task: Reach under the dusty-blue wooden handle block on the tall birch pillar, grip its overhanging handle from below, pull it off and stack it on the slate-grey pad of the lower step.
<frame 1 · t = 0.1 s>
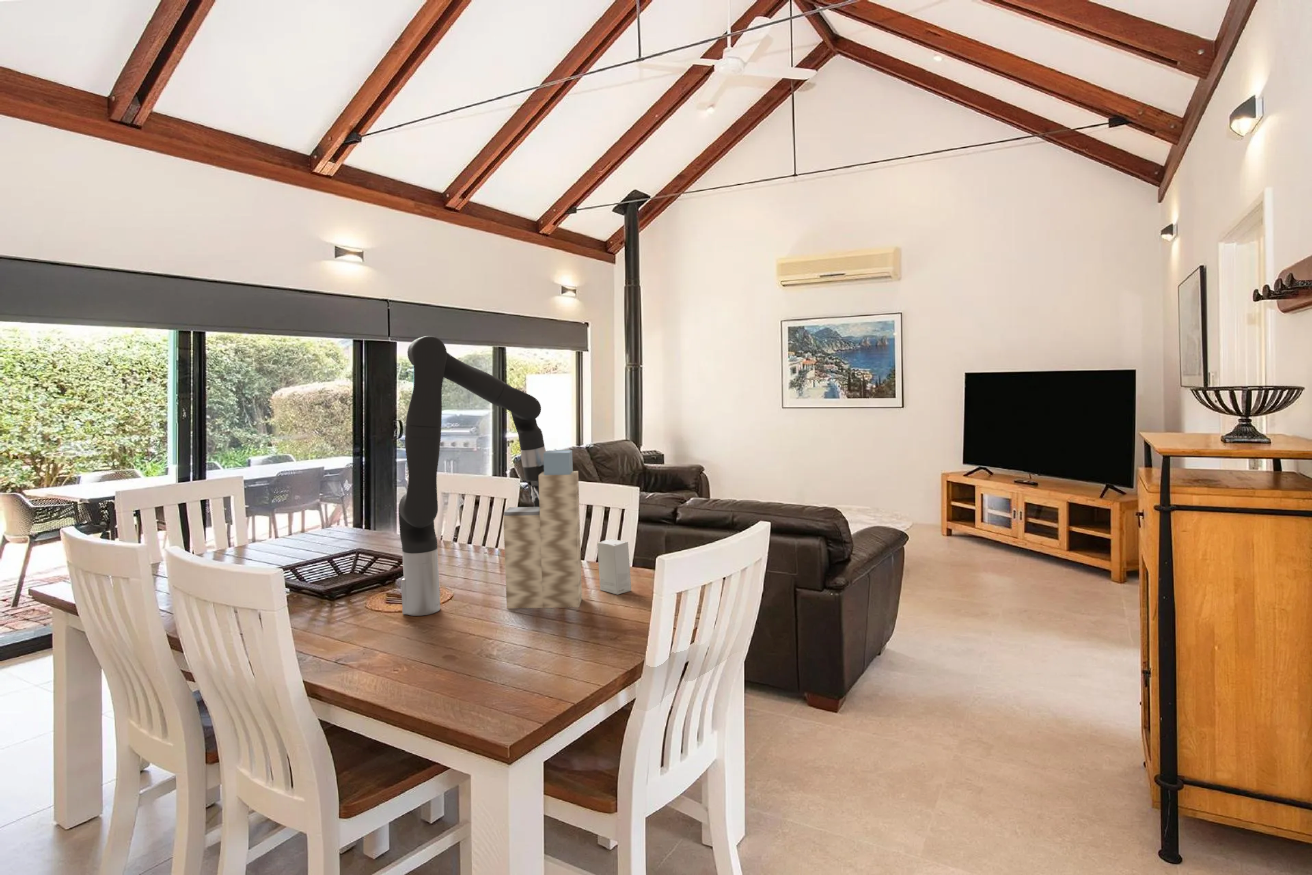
hand: (544, 516, 216), 22 cm above the table, tool pointing down, fingers open, 8 cm apart
skincare box: (614, 591, 216), on the table
blue handle block: (558, 473, 202), point 37 cm above the table, touching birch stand
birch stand: (544, 603, 205), on the table
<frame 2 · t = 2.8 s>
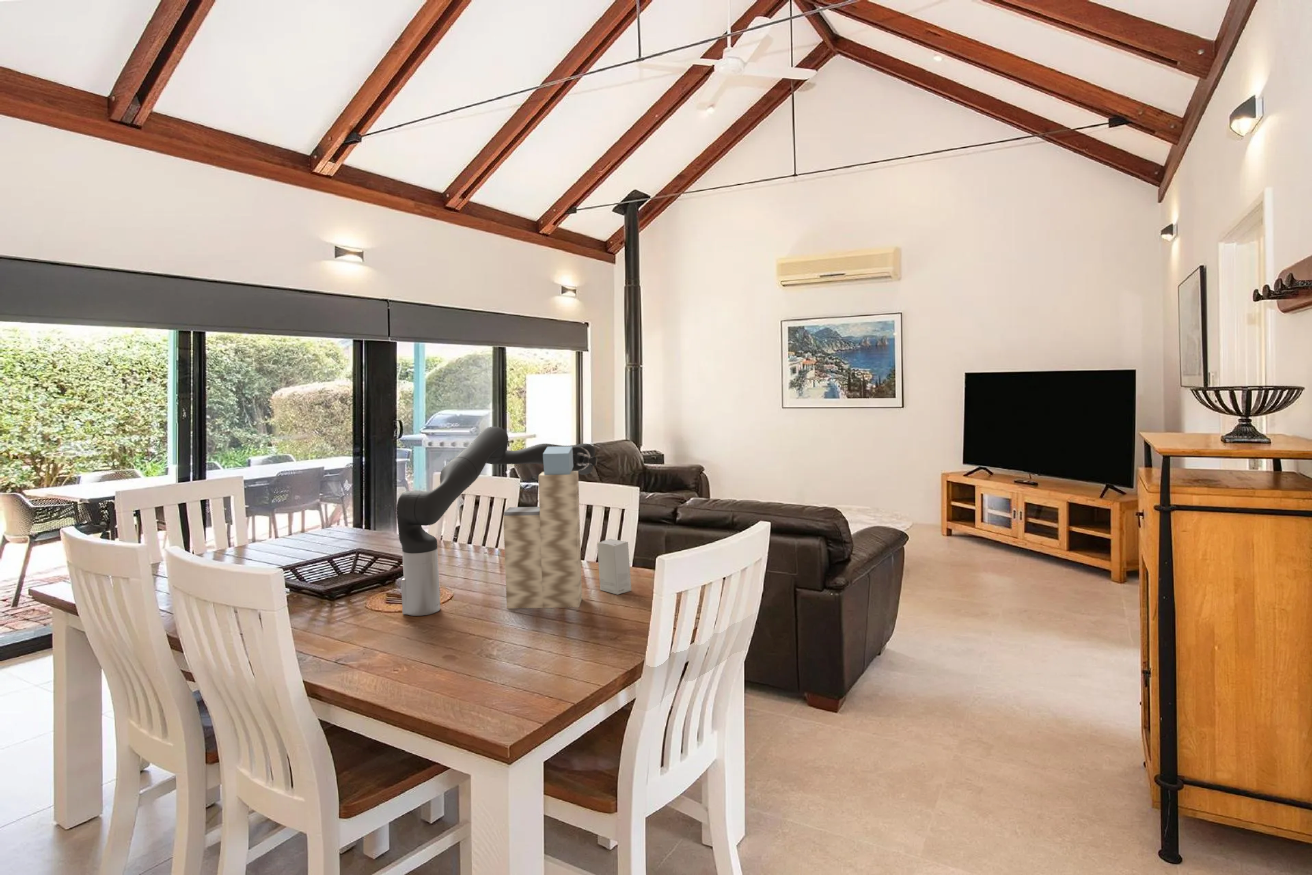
hand: (570, 458, 215), 40 cm above the table, tool horizontal, fingers open, 8 cm apart
blue handle block: (559, 470, 202), point 38 cm above the table, tilted 10°, touching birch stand
everything else where it was.
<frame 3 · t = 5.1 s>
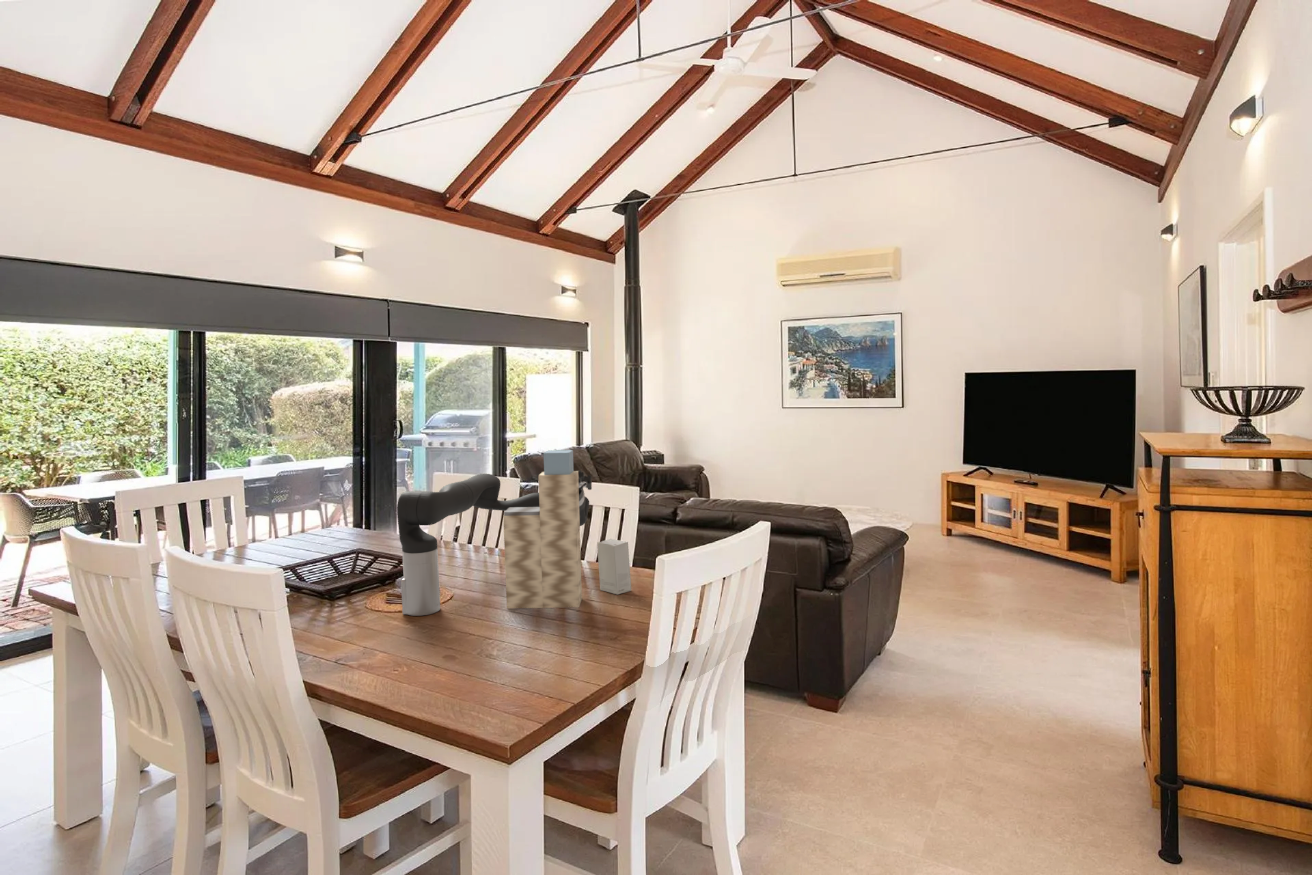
hand: (565, 473, 217), 35 cm above the table, tool pointing upward, fingers open, 8 cm apart
blue handle block: (559, 472, 202), point 37 cm above the table, touching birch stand
everything else where it was.
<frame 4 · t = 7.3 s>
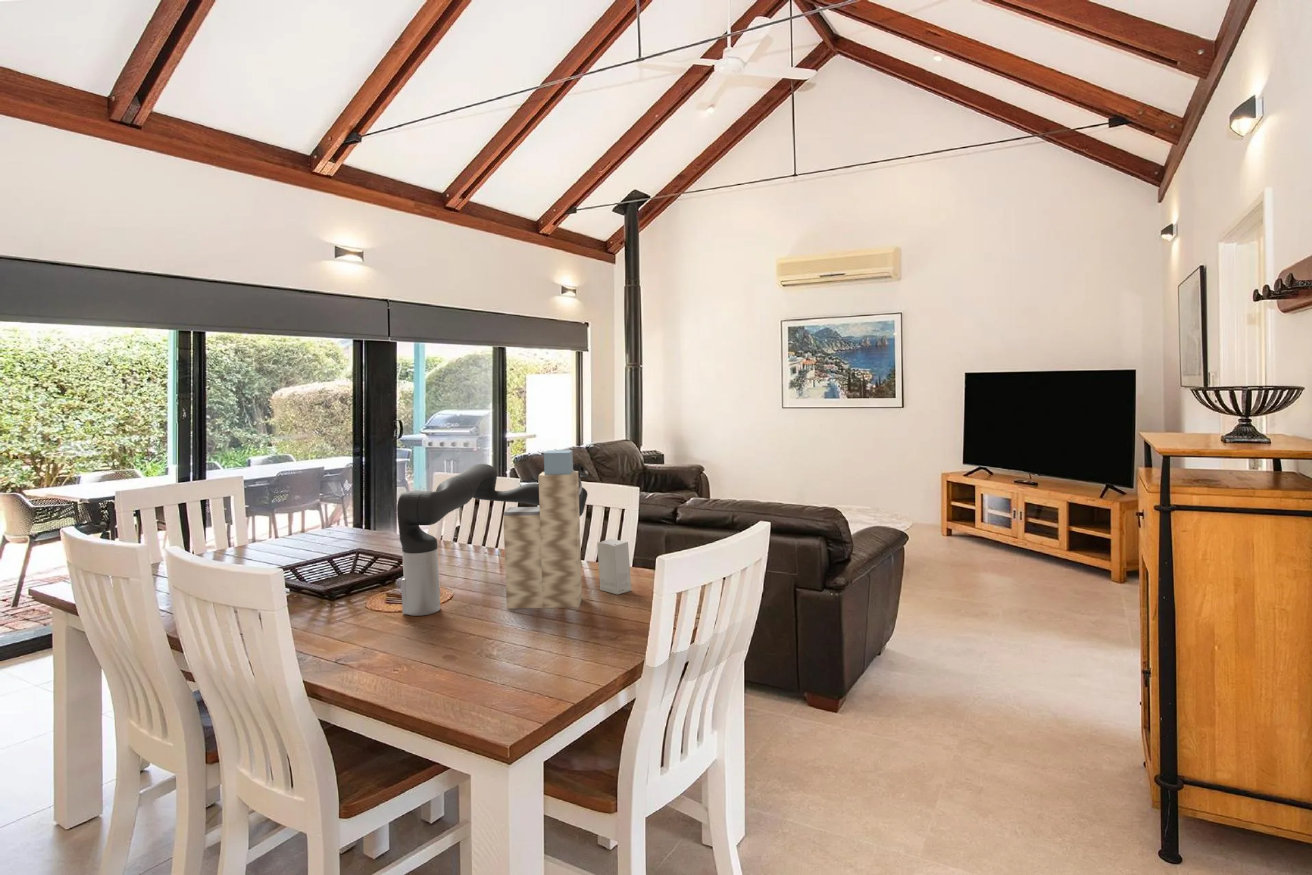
hand: (561, 461, 208), 39 cm above the table, tool pointing upward, fingers closed on blue handle block, 3 cm apart
blue handle block: (559, 472, 202), point 37 cm above the table, touching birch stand, gripper
everything else where it was.
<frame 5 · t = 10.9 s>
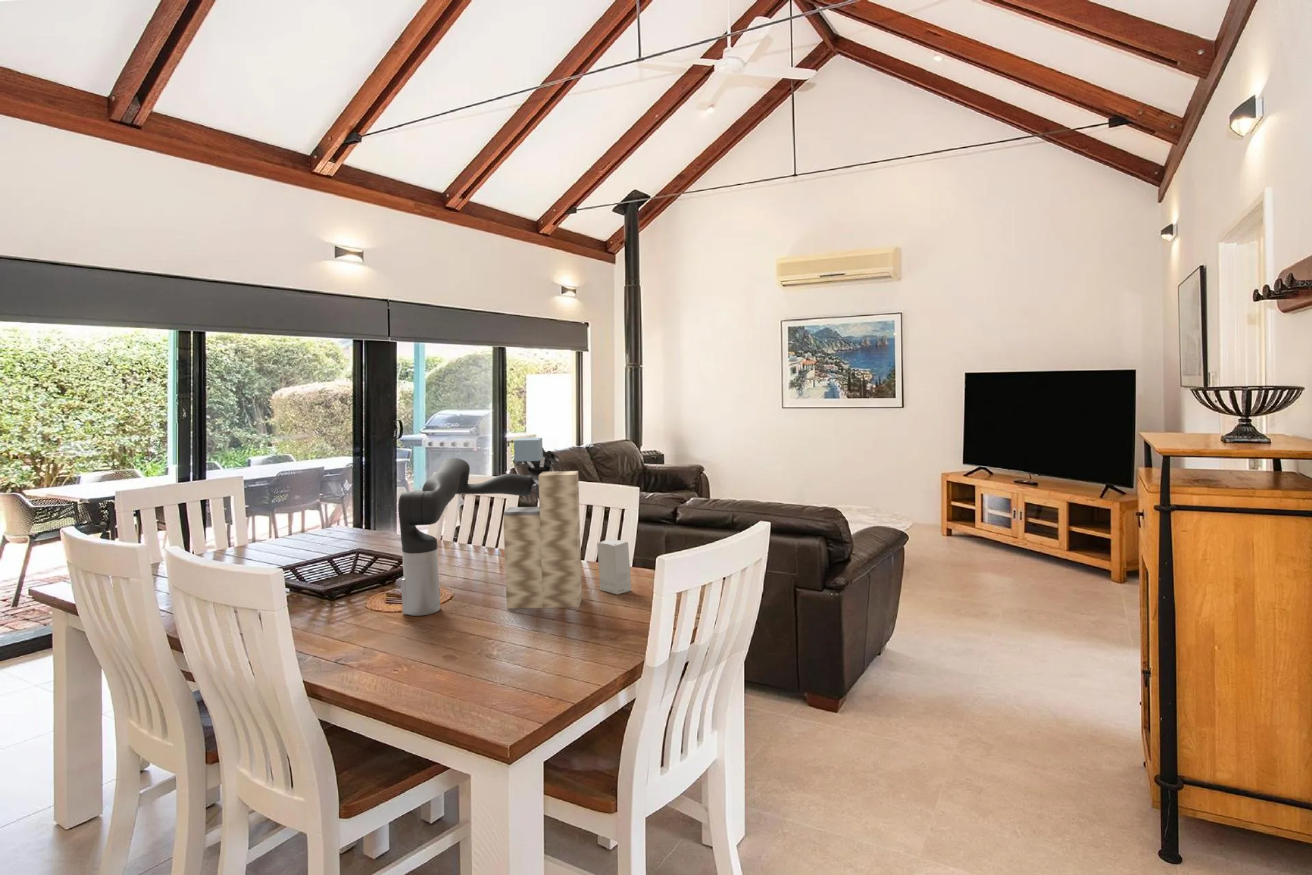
hand: (532, 448, 218), 42 cm above the table, tool pointing upward, fingers closed on blue handle block, 3 cm apart
blue handle block: (528, 459, 212), point 40 cm above the table, touching gripper
everything else where it was.
when the fingers open (31 cm above the table, at t = 14.9 s): blue handle block drops 1 cm, resting on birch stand.
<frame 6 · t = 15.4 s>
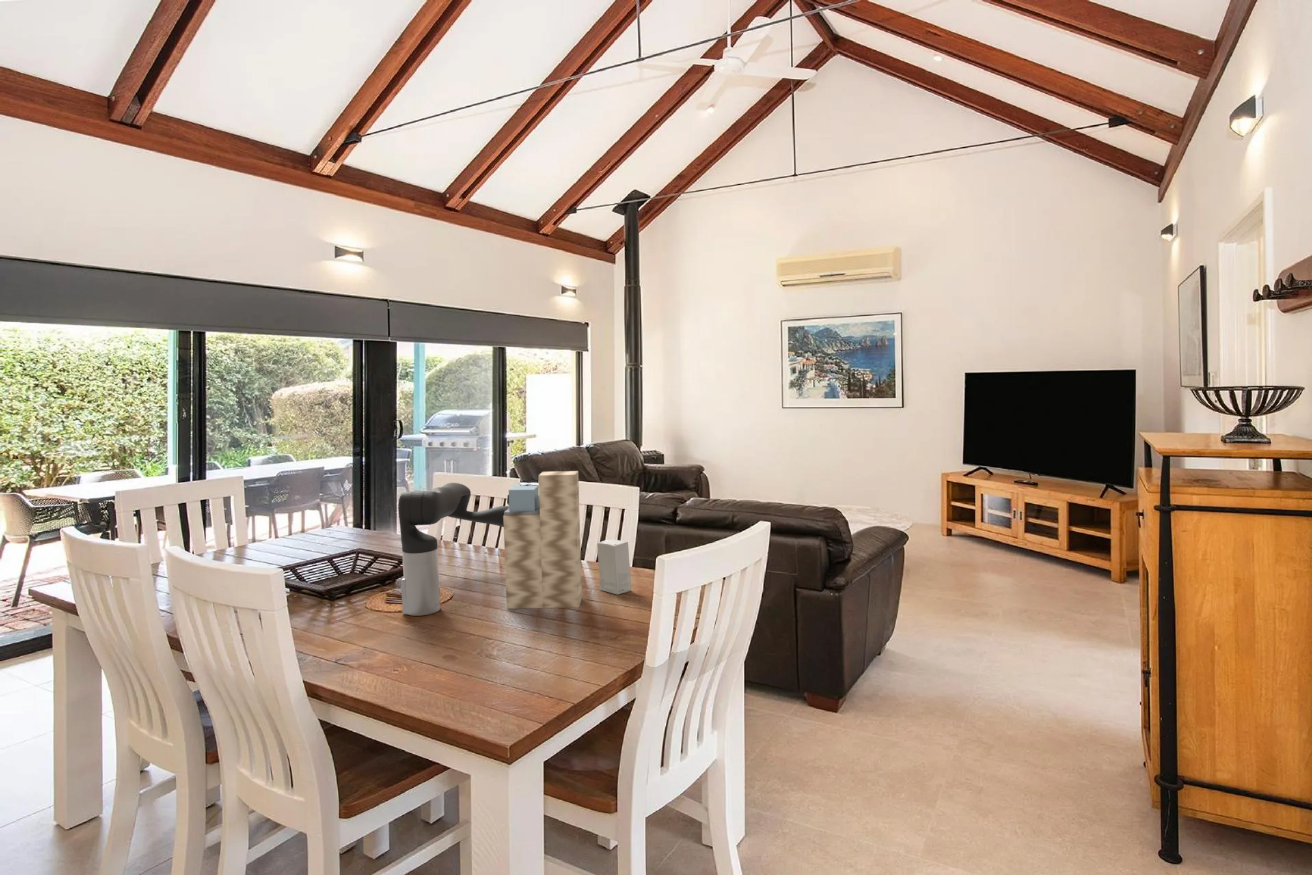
hand: (528, 492, 210), 30 cm above the table, tool pointing upward, fingers open, 8 cm apart
blue handle block: (524, 509, 203), point 27 cm above the table, touching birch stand
everything else where it was.
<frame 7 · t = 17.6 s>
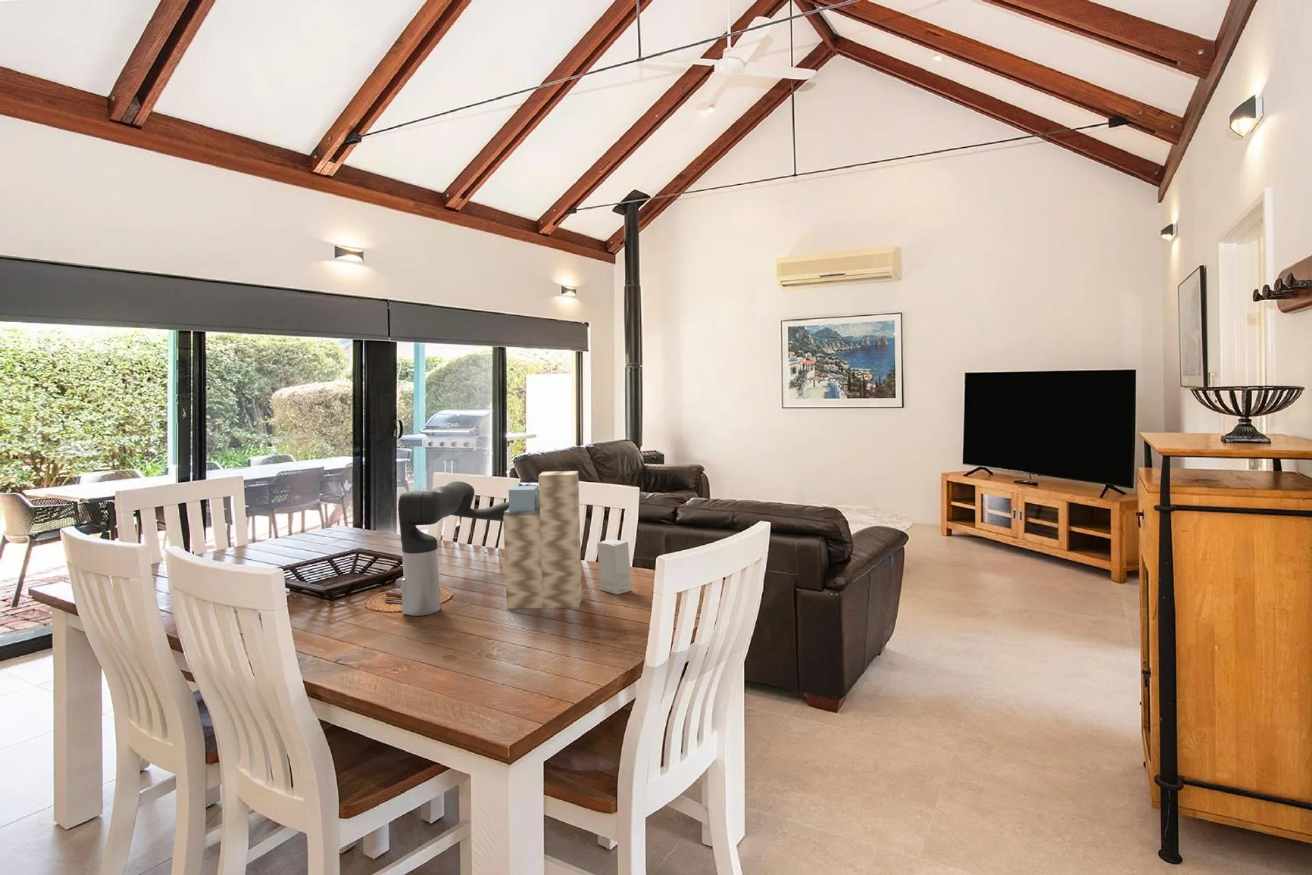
hand: (534, 486, 220), 31 cm above the table, tool pointing upward, fingers open, 8 cm apart
nothing on the table moved.
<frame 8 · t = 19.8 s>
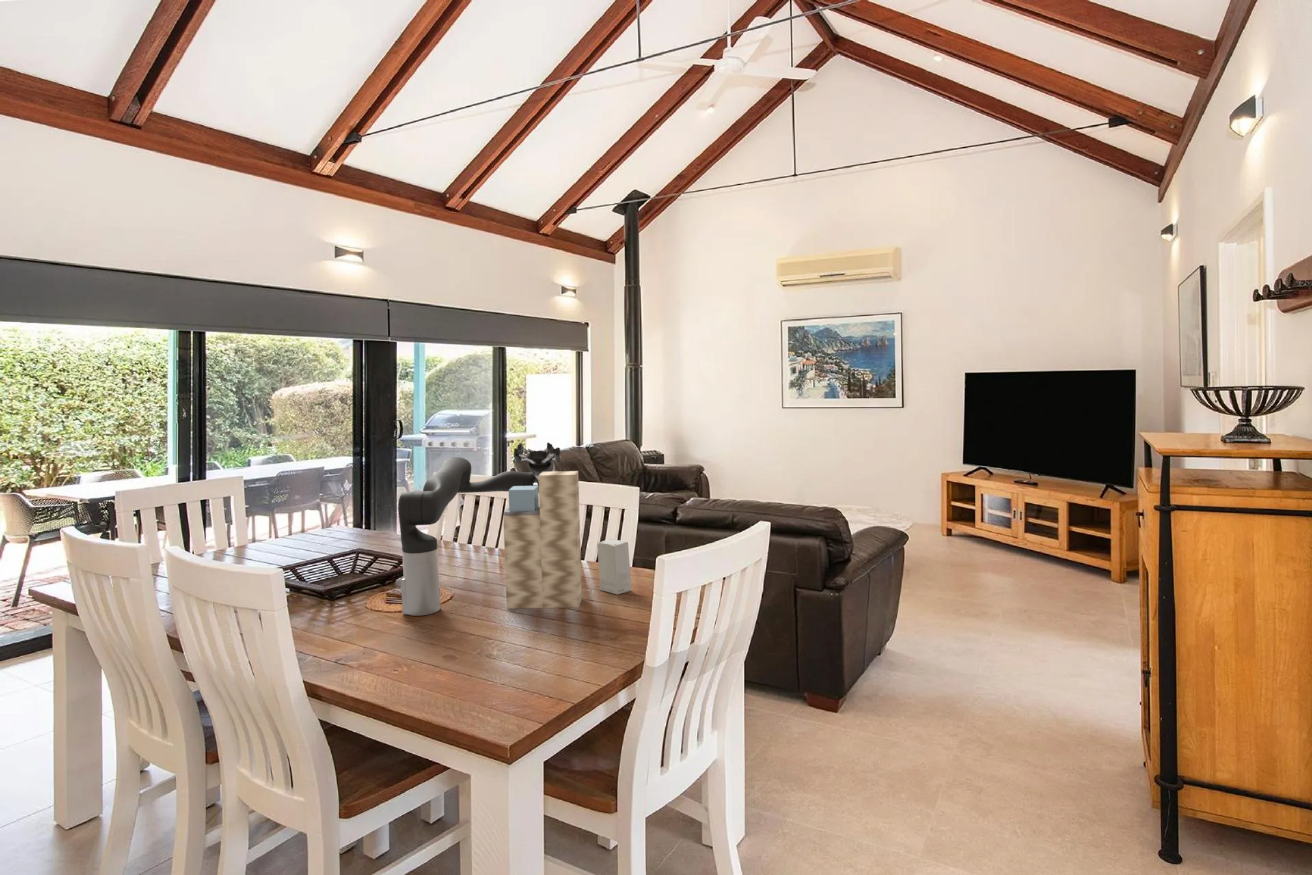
hand: (534, 445, 221), 43 cm above the table, tool pointing upward, fingers open, 8 cm apart
nothing on the table moved.
at the end: blue handle block 0.5 cm from the target spot on the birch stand, point 27.0 cm above the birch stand's base; the gripper is holding nothing; blue handle block tilted 0° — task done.
